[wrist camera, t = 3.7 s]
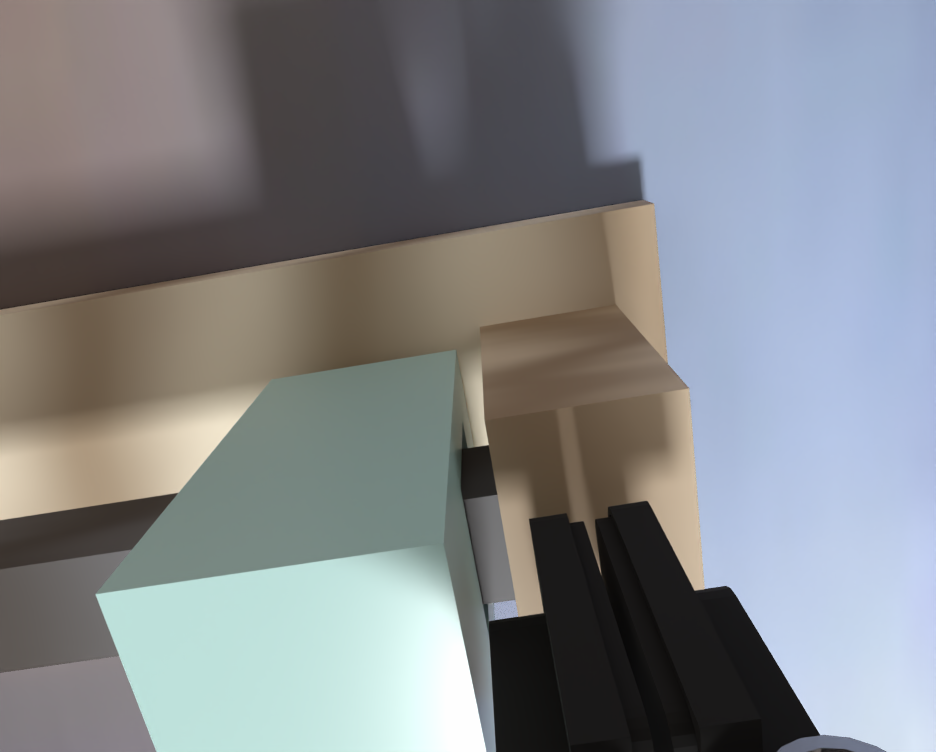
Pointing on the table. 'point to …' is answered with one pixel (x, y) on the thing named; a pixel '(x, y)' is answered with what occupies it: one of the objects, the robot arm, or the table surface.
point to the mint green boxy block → (316, 577)
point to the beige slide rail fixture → (332, 347)
